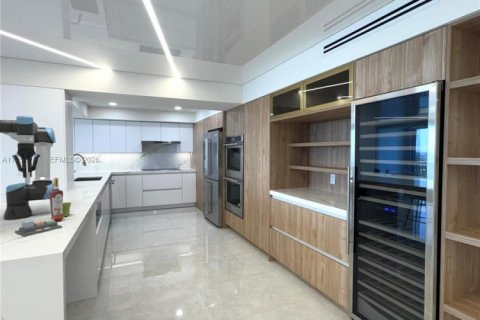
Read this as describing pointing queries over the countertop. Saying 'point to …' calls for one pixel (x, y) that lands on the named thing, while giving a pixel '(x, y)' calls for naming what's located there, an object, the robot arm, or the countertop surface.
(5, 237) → the countertop surface
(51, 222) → the key sage
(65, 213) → the plant pot
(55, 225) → the keypad
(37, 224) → the key terracotta
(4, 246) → the countertop surface
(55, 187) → the liquor
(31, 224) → the key bluegrey
